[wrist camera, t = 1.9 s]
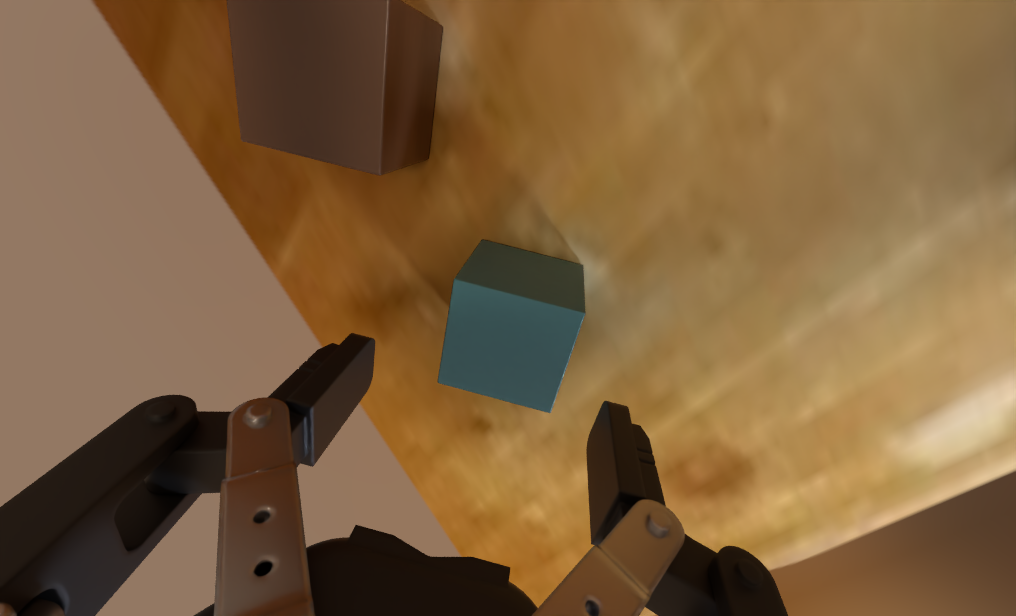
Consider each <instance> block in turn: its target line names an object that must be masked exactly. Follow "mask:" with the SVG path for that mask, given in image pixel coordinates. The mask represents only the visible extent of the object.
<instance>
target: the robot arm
mask: <svg viewBox="0 0 1016 616" xmlns="http://www.w3.org/2000/svg"><path fill="white" fill-rule="evenodd" d="M374 353H375V340H374V339H373V338H369V337H366V336H362V335H358V334H354V333H351V334H350V335H349V336H348V337H347V338H346V339H345V340H344V341H343V342H342V343H341V344H340V345H337V344H333V343H331V344H329V345H327V346H325V347H323V348H321V349H318V350H317V351H316V352H315V353H314V354H313V355H312V356H311V357H310V358H309V359H308V360H307V361H305V362H304V363H303V364H302V365H301V366H300V367H299V369H297V370H296V371H295V372H294V373H293V374H292V375H291V376H290V377H289V378H288V379H287V380H285V381H284V382H283V383H282V384H281V385H280V386H279V387H278V388H277V389H276V390H275V391H274V392H273V393H272V394H271V395H270V396H269V397H268V398H257V399H253V400H250V401H247V402H245V403H243V404H241V405H239V406H238V407H236V408H235V409H234V410H233V411H232V412H198V411H197V408H196V404H195V402H194V401H193V400H192V399H191V398H189V397H186V396H182V395H166V396H160V397H156V398H153V399H150V400H147V401H145V402H143V403H141V404H139V405H138V406H136V407H134V408H133V409H132V410H130V411H129V412H128V413H126V414H125V415H124V416H122V417H121V418H120V419H118V420H117V421H116V422H114V423H113V424H111V425H110V426H109V427H108V428H106V429H105V430H103V431H102V432H101V433H99V434H98V435H97V436H95V437H94V438H93V439H91V440H90V441H89V442H87V443H86V444H85V445H83V446H82V447H81V448H79V449H78V450H77V451H75V452H74V453H72V454H71V455H70V456H69V457H67V458H66V459H65V460H63V461H62V462H60V463H59V464H58V465H57V466H55V467H54V468H52V469H51V470H50V471H48V472H47V473H46V474H45V475H43V476H42V477H40V478H39V479H38V480H36V481H35V482H34V483H32V484H31V485H29V486H28V487H27V488H25V489H24V490H23V491H21V492H20V493H19V494H17V495H16V496H15V497H13V498H12V499H11V500H9V501H8V502H7V503H5V504H4V505H3V506H1V507H0V616H95V615H96V614H97V613H98V612H99V611H100V609H101V608H102V607H103V606H104V604H106V602H107V601H108V600H109V599H110V598H111V597H112V596H113V594H114V593H115V592H116V591H117V590H118V589H119V588H120V586H121V585H122V584H123V583H124V582H125V581H126V580H127V578H128V577H129V576H130V575H131V574H132V573H133V572H134V570H135V569H136V568H137V567H138V566H139V565H140V564H141V562H142V561H143V560H144V559H145V558H146V557H147V556H148V554H149V553H150V552H151V551H152V550H153V549H154V548H155V546H156V545H157V544H158V543H159V542H160V540H161V539H162V538H163V537H164V536H165V535H166V534H167V533H168V532H169V530H170V529H171V528H172V527H173V526H174V525H175V524H176V522H177V521H178V520H179V519H180V518H181V517H182V515H183V514H184V513H185V512H186V511H187V510H188V509H189V508H190V506H191V505H192V504H193V503H194V502H195V501H196V499H197V498H198V497H199V496H200V495H201V494H202V493H220V510H219V529H218V548H217V567H216V585H215V603H214V604H212V605H210V606H209V607H207V608H205V609H204V610H203V611H201V612H199V613H198V614H196V615H194V616H639V615H640V614H641V612H642V610H643V609H644V607H646V608H648V609H649V610H651V611H652V612H654V613H655V614H657V615H658V616H788V614H787V612H786V609H785V606H784V604H783V601H782V599H781V596H780V593H779V591H778V588H777V586H776V583H775V581H774V579H773V577H772V575H771V574H770V572H769V571H768V570H767V568H766V567H765V566H764V565H763V564H762V563H761V562H760V561H759V560H758V559H757V558H756V557H754V556H753V555H752V554H750V553H749V552H747V551H745V550H743V549H741V548H739V547H735V546H726V547H723V548H722V549H721V550H720V551H719V552H718V553H716V552H714V551H713V550H711V549H709V548H707V547H706V546H704V545H702V544H700V543H699V542H697V541H695V540H693V539H692V538H690V537H689V536H687V535H686V534H685V533H684V529H683V527H682V524H681V523H680V521H679V519H678V518H677V517H676V515H675V514H674V513H673V512H672V511H671V510H670V509H668V508H667V507H666V505H665V501H664V497H663V493H662V489H661V485H660V481H659V477H658V473H657V468H656V466H655V460H654V456H653V455H652V448H651V444H650V440H649V438H648V436H647V435H646V433H645V432H644V430H643V429H642V428H641V426H639V425H636V424H632V423H631V418H630V413H629V409H628V407H627V406H624V405H620V404H616V403H612V402H609V401H604V402H603V404H602V406H601V408H600V411H599V413H598V415H597V418H596V420H595V422H594V425H593V427H592V429H591V432H590V434H589V438H588V442H587V471H588V490H589V509H590V528H591V544H593V545H594V546H593V547H592V548H591V549H590V550H589V551H588V553H587V554H586V555H585V556H584V557H583V558H582V559H581V561H580V562H579V563H578V564H577V565H576V566H575V567H574V568H573V570H572V571H571V572H570V573H569V574H568V575H567V576H566V577H565V579H564V580H563V581H562V582H561V583H560V584H559V585H558V586H557V588H556V589H555V590H554V591H553V592H552V593H551V594H550V595H549V597H548V598H547V599H546V600H545V601H544V602H543V603H542V605H541V606H540V607H539V608H537V607H536V605H535V604H534V603H533V602H532V600H531V599H530V598H529V597H528V596H527V595H526V594H525V593H524V592H523V591H522V590H520V589H519V588H518V587H517V586H515V585H514V584H512V583H511V582H509V574H510V567H507V566H503V565H500V564H496V563H492V562H489V561H485V560H482V559H478V558H474V557H430V556H427V555H425V554H424V553H422V552H420V551H419V550H417V549H415V548H414V547H412V546H410V545H409V544H407V543H405V542H404V541H402V540H401V539H399V538H397V537H396V536H394V535H391V534H387V533H384V532H379V531H376V530H373V529H369V528H366V527H362V526H358V525H356V526H355V527H354V529H353V531H352V533H351V535H350V537H349V538H336V539H330V540H326V541H322V542H320V543H317V544H314V545H311V546H309V547H307V548H306V544H305V535H304V527H303V518H302V510H301V501H300V493H299V484H298V476H297V467H298V465H299V464H300V463H301V464H305V465H309V466H314V465H315V463H316V462H317V460H318V459H319V458H320V456H321V455H322V453H323V452H324V451H325V449H326V448H327V446H328V445H329V444H330V442H331V441H332V440H333V438H334V437H335V435H336V434H337V432H338V431H339V430H340V428H341V427H342V425H343V424H344V423H345V421H346V420H347V419H348V417H349V416H350V414H351V413H352V412H353V410H354V409H355V408H356V406H357V405H358V403H359V402H360V401H361V399H362V398H363V396H364V395H365V394H366V392H367V390H368V389H369V386H370V384H371V381H372V377H373V367H374Z"/></svg>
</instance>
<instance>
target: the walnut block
mask: <svg viewBox="0 0 1016 616" xmlns="http://www.w3.org/2000/svg"><path fill="white" fill-rule="evenodd" d="M227 8H228V17H229V27H230V37H231V46H232V56H233V66H234V75H235V85H236V95H237V104H238V114H239V124H240V133H241V140H242V141H244V142H248V143H252V144H256V145H260V146H264V147H268V148H272V149H276V150H280V151H284V152H288V153H292V154H296V155H300V156H304V157H308V158H312V159H316V160H320V161H324V162H327V163H331V164H335V165H339V166H343V167H347V168H351V169H355V170H359V171H363V172H367V173H371V174H375V175H383V174H386V173H389V172H391V171H394V170H397V169H400V168H403V167H406V166H409V165H412V164H415V163H417V162H420V161H423V160H426V159H428V158H429V150H430V141H431V132H432V122H433V113H434V104H435V95H436V85H437V76H438V67H439V58H440V49H441V39H442V30H443V27H442V25H440V24H439V23H437V22H435V21H434V20H432V19H430V18H429V17H427V16H425V15H424V14H422V13H421V12H419V11H417V10H416V9H414V8H412V7H411V6H409V5H407V4H406V3H404V2H403V1H401V0H227Z"/></svg>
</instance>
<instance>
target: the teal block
mask: <svg viewBox="0 0 1016 616" xmlns="http://www.w3.org/2000/svg"><path fill="white" fill-rule="evenodd" d="M584 316H585V294H584V273H583V265H580V264H576V263H573V262H569V261H565V260H561V259H557V258H553V257H549V256H545V255H541V254H537V253H533V252H529V251H526V250H522V249H518V248H514V247H510V246H506V245H502V244H498V243H494V242H490V241H486V240H481V242H480V243H479V245H478V246H477V247H476V249H475V250H474V252H473V253H472V255H471V256H470V257H469V259H468V260H467V262H466V263H465V264H464V266H463V267H462V269H461V270H460V271H459V273H458V274H457V276H456V277H455V278H454V282H453V288H452V294H451V300H450V307H449V313H448V319H447V325H446V332H445V338H444V344H443V351H442V357H441V363H440V369H439V376H438V383H441V384H444V385H448V386H452V387H455V388H459V389H463V390H466V391H470V392H474V393H477V394H481V395H485V396H489V397H492V398H496V399H500V400H503V401H507V402H511V403H514V404H518V405H522V406H525V407H529V408H533V409H537V410H540V411H544V412H548V413H551V411H552V408H553V405H554V402H555V399H556V396H557V393H558V391H559V388H560V385H561V382H562V379H563V376H564V373H565V371H566V368H567V365H568V362H569V359H570V356H571V353H572V351H573V348H574V345H575V342H576V339H577V336H578V333H579V331H580V328H581V325H582V322H583V319H584Z"/></svg>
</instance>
